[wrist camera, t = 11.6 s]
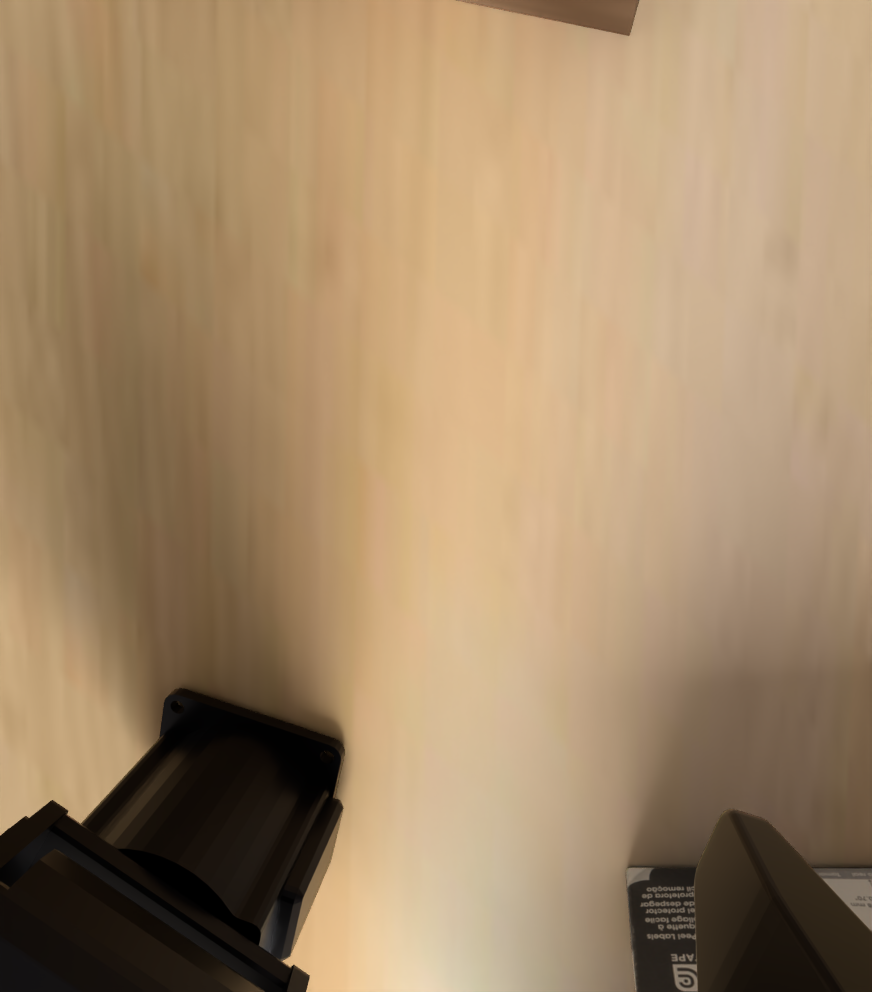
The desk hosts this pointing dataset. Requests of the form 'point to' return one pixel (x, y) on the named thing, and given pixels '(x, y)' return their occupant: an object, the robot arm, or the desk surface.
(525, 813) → the desk surface
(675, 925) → the label tape cartridge
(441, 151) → the desk surface
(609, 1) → the block
